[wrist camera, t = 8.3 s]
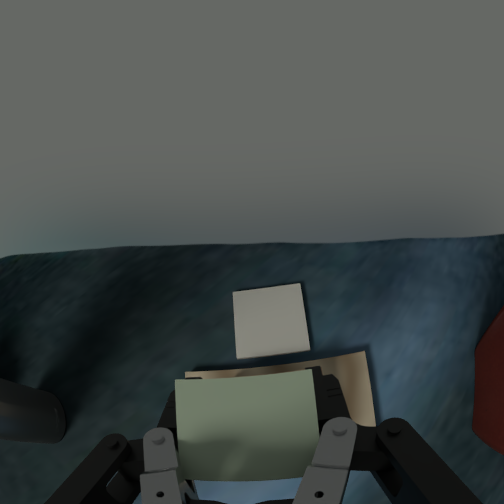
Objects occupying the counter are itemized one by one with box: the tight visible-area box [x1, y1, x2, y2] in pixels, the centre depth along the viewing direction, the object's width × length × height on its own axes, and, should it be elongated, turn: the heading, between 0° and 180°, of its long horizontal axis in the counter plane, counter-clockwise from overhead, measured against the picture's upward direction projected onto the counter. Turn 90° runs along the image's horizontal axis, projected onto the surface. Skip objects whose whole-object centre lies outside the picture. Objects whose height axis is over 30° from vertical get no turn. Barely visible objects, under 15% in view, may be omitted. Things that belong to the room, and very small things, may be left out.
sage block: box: [175, 369, 319, 481], centre depth 13 cm, size 5×4×10 cm
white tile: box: [233, 283, 310, 359], centre depth 36 cm, size 9×9×1 cm
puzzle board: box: [185, 351, 376, 426], centre depth 29 cm, size 22×12×4 cm, turn 94°
